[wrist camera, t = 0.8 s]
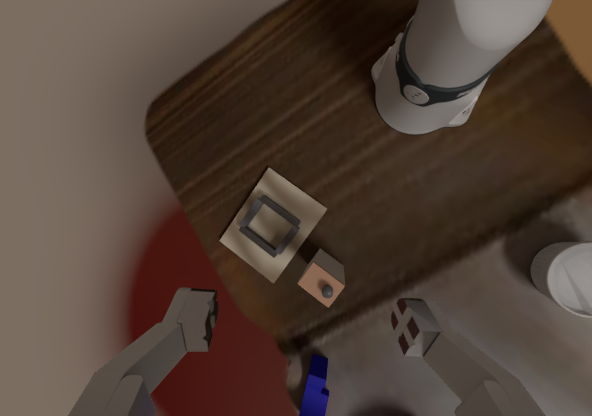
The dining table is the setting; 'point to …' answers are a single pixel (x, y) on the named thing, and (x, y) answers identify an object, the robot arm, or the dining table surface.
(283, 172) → the dining table surface
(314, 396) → the cable clip
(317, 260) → the white and orange block
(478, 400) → the robot arm
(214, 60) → the dining table surface
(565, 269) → the ramekin
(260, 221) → the board
